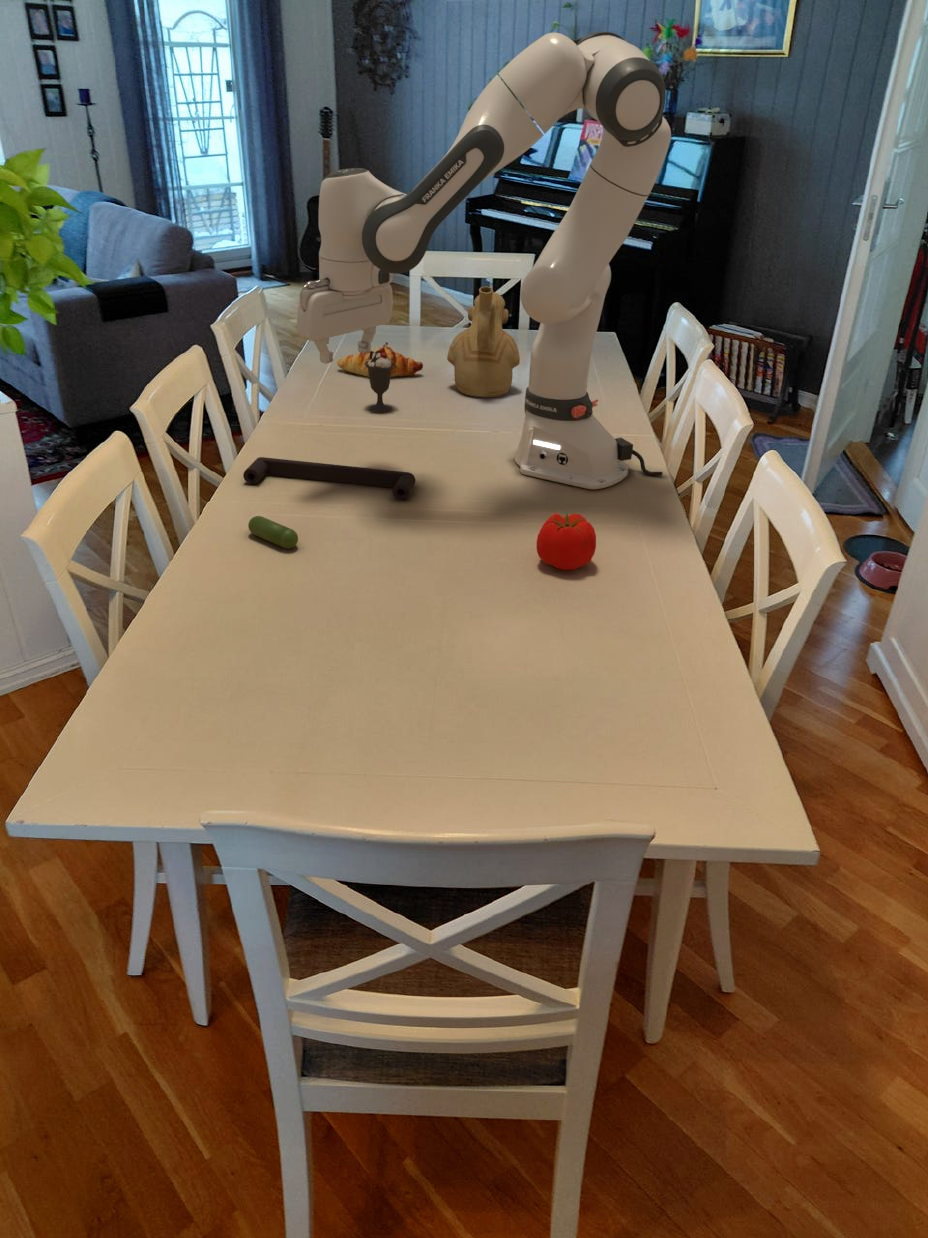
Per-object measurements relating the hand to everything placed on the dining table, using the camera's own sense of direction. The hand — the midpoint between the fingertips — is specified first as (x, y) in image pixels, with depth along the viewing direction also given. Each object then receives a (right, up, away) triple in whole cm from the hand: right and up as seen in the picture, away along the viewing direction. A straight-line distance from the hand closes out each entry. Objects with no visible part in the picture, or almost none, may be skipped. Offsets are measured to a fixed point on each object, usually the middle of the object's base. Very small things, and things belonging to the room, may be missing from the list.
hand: (345, 357), depth 163 cm
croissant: (0, +14, +66) cm, 68 cm away
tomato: (+36, -37, -16) cm, 54 cm away
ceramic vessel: (+25, +8, +58) cm, 64 cm away
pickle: (-10, -33, -14) cm, 37 cm away
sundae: (+2, 0, +43) cm, 43 cm away
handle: (-4, -22, +6) cm, 23 cm away
